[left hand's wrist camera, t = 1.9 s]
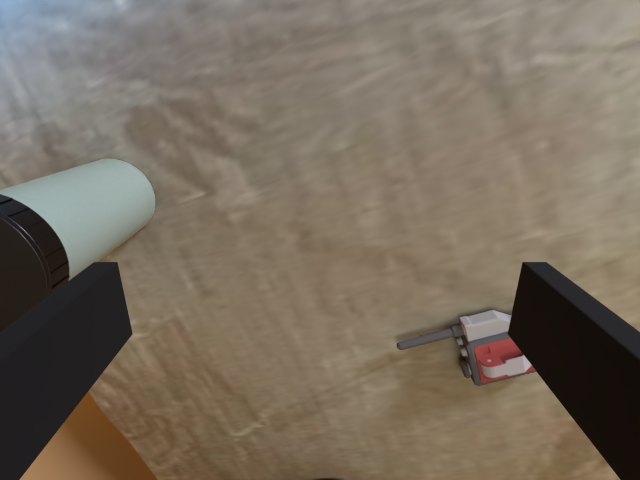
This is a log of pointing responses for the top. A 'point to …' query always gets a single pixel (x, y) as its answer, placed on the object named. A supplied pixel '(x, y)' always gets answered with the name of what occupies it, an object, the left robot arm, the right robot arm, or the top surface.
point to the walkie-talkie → (482, 347)
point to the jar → (90, 207)
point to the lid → (27, 260)
